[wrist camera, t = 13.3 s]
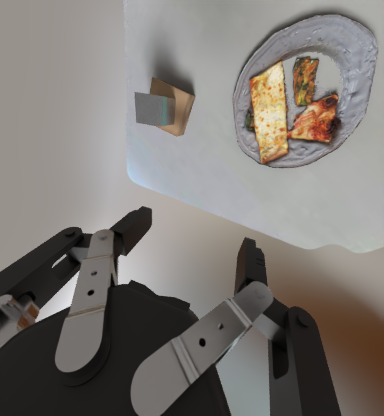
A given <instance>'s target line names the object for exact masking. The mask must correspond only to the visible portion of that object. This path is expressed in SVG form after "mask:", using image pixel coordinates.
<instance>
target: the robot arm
mask: <svg viewBox="0 0 384 416" xmlns="http://www.w3.org/2000/svg"><path fill="white" fill-rule="evenodd" d="M151 225H152V209H150V208H147V207H144V206H142V207H141V208H139V209H138V210H134V211H132V212H130V213H128V214H127V215H126V216H125V217H123V218H122V219H121V220H120V221H118V222H117V223H116V224H115V225H114V226H112V227H111V228H110V229H109V230H108V229H104V230H100V231H97V232H96V233H94V234H86V233H85V234H84V233H82V230H81V228H79V227H70V228H66V229H64V230H62V231H61V232H59V233H58V234H56V235H55V236H53V237H52V238H50V239H49V240H47V241H46V242H44V243H43V244H41V245H40V246H38V247H37V248H35V249H34V250H32V251H31V252H29V253H28V254H26V255H25V256H23V257H22V258H21V259H19V260H17V261H16V262H14V263H13V264H11V265H10V266H8V267H7V268H5V269H4V270H3V271H1V272H0V416H231V413H230V409H229V407H228V403H227V400H226V397H225V394H224V391H223V388H222V385H221V381H220V378H219V375H218V372H217V369H216V365H217V364H218V363H219V362H220V361H221V360H222V359H223V358H224V357H225V356H226V355H227V354H228V352H229V351H230V350H231V349H232V348H233V347H234V346H235V345H236V343H237V342H238V341H239V340H240V339H241V338H242V337H243V336H244V335H245V334H246V333H247V332H248V331H249V330H250V329H251V328H252V327H255V328H256V329H257V330H258V331H259V332H261V333H262V334H263V335H265V336H266V337H267V338H268V357H269V387H270V389H269V390H270V416H341V412H340V409H339V405H338V402H337V397H336V394H335V390H334V386H333V383H332V379H331V375H330V371H329V367H328V364H327V360H326V357H325V353H324V349H323V345H322V341H321V338H320V334H319V330H318V327H317V324H316V322H315V320H314V319H313V318H312V317H311V315H310V314H309V313H307V312H306V311H305V310H303V309H302V308H300V307H296V306H294V307H291V308H288V307H287V306H285V305H284V304H282V303H281V302H279V301H278V300H276V299H275V298H274V297H273V294H272V292H271V290H270V289H269V288H268V285H267V276H266V267H265V258H264V254H263V252H262V250H261V249H259V248H256V242H255V240H253V239H250V238H246V237H245V238H244V240H243V243H242V245H241V248H240V250H239V252H238V257H237V268H236V279H235V291H234V297H233V298H231V299H226V300H225V301H223V302H222V303H221V304H219V305H218V306H217V307H216V308H214V309H213V310H212V311H210V312H209V313H208V314H207V315H205V316H204V317H203V318H201V319H200V320H199V319H198V317H197V316H196V315H195V314H194V313H193V311H191V310H190V309H189V307H190V303H187V302H185V301H182V300H180V299H177V298H175V297H166V296H158V295H156V294H155V293H154V292H153V291H151V290H150V289H149V288H148V287H146V286H145V285H143V284H140V283H138V282H135V281H133V280H131V281H130V282H129V284H121V285H118V257H119V256H120V255H124V256H127V254H128V253H129V252H130V251H131V250H132V249H133V247H134V246H135V245H136V244H137V243H138V242H139V241H140V240H141V238H142V237H143V236H144V235H145V234H146V233H147V231H148V230H149V229H150V227H151ZM64 254H66V255H67V256H66V257H65V258H64V259H63V260H61V261H60V262H59V263H58V264H57V265H55V266H54V267H53V268H52V266H53V264H54V263H55V262H56V261H57V260H58V259H60V258H61V257H62V256H63V255H64ZM79 270H80V272H79V276H78V280H77V284H76V288H75V292H74V296H73V300H72V304H71V306H70V307H68V308H66V309H64V310H62V311H60V312H57V313H55V314H53V315H51V316H49V317H47V318H45V319H43V320H41V321H39V322H37V323H35V319H36V318H37V316H38V314H39V310H40V309H41V308H42V307H43V306H44V305H45V304H46V303H47V302H48V301H49V300H50V299H51V298H52V297H53V296H54V295H55V294H56V293H57V292H58V291H59V290H60V289H61V288H62V287H63V286H64V285H65V284H66V283H67V282H68V281H69V280H70V279H71V278H72V277H73V276H74V275H75V274H76V273H77V272H78V271H79Z"/></svg>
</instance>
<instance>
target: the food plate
mask: <svg viewBox="0 0 384 416" xmlns="http://www.w3.org/2000/svg"><path fill="white" fill-rule="evenodd" d="M316 51H317V53H321V52H322V54H323V55H328V56H329V57H330V58H331V61H332V60H334V62H335V63H336V66H337V67H338V68H339V69H340V72H341V74H340V76H341V79H343V82H344V83H343V85H344V89H343V92H342V94H341V99H340V102H339V103H338V100H339V99H338V96H339V95H340V94H338V95H337V94H336V93H335V94H333V95H332V94H331V93H332V92H331V93H329V92H327V93H326V92H325V91H324V89H323V88H320V87H319V88H318V87H317V85H316V86H315V85H314V80H315V77H316V71H317V69H318V68H317V67H318V64H319V60H311V59H310V57H309V58H308V57H307V58H304V59H302V60H299V58H298V59H297V60H296V63H295V67H294V70H293V75H294V81H293V82H294V86H293V89H294V96H293V97H294V103H295V105H296V107H295V109H294V110H293V113H291V111H290V110H291V107H290V104H292V99H291V100H290V101H291V102H288V103H287V100H288V99H289V97H288V95H286V94H285V92H287V88H286V87H287V86H286V84H285V83H286V82H285V83H284V79H285V77H284V70H283V66H282V61H285V60H287V59H289V58H292V57H294V56H297V55H300V54H303V53H305V52H316ZM377 54H378V47H377V43H376V38H375V37H374V36H373V33H371V31H369V29H367V28H366V27H364V26H363V25H362V24H361V23H359V22H356V21H354V20H351V19H348V18H347V17H344V16H343V17H341V15H337V14H336V15H332V14H331V15H322V16H321V15H320V16H319V15H317V16H316V15H315V17H312V18H309V19H305V20H302V21H300V22H298V23H296V24H294V25H291V26H289V27H287V28H285V29H283V30H280V31H279V32H276V33H274V34H273V35H272V36H271V37H270V38H269V39H267V41H266V42H265V43H264V44H263V45H262V46H261V48H259V49H258V50H257V51H256V52H255V53H254V55H253V56H252V57H251V58H250V59H249V61H248V63H247V64H246V65H245V68H244V69H243V71H242V73H241V75H240V77H239V80H238V81H237V86H236V90H235V93H234V95H233V96H234V97H233V100H234V101H233V105H234V107H233V109H234V118H235V126H236V135H237V140H238V141H237V142H238V144H239V146H240V148H241V149H242V151H243V152H244V153H245V154H247V155H248V156H249V157H251V158H252V159H254V160H255V161H256V162H257V163H259V164H262V165H267V166H269V167H272V168H294V167H299V166H304V165H308V164H310V163H312V162H315V161H317V160H319V159H320V158H322V157H323V156H325V155H327V154H328V153H331V152H333V151H334V150H336V149H337V148H339V147H340V146H341V145H342V144H343V142H344V141H345V140H346V139H347V137H348V136H349V135H350V134H352V133H353V131H354V130H355V128H356V127H357V126H358V124H359V123H360V122H361V120H362V118H363V117H364V116H365V113H366V110H367V106H368V101H369V96H370V92H371V86H372V82H373V76H374V73H375V65H376V63H375V60H376V59H377V57H376V56H377ZM376 61H377V60H376ZM317 83H319V82H317ZM340 83H341V82H340ZM318 90H319V91H318ZM348 90H350V93H349V94H347V91H348ZM313 93H314V94H313ZM320 94H321V95H320ZM346 94H347V95H346ZM327 95H328V96H327ZM285 100H286V101H285ZM289 103H290V104H289ZM286 104H287V105H286ZM297 105H298V106H297ZM297 111H298V113H297ZM294 120H295V123H293V125H294V126H293V127H292V126H291V123H292V122H294Z"/></svg>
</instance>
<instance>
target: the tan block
mask: <svg viewBox="0 0 384 416" xmlns="http://www.w3.org/2000/svg"><path fill="white" fill-rule="evenodd" d="M150 94H151V95H158V96H164V97H168V98H172V99H176V105H175V123H174V125H167V126H156V127H158V128H160V129H162V130H164V131H167V132H169V133H171V134H173V135H175V136H180V135H184V131H185V128H186V125H187V122H188V118H189V115H190V112H191V109H192V106H193V102H194V99H195V96H193V95H191V94H189V93H187V92H185V91H183V90H180V89H178V88H176V87H174V86H172V85H170V84H168V83H165V82H163V81H161V80H158V79H156V78H153V77H152V83H151V89H150Z"/></svg>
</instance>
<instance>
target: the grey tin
mask: <svg viewBox="0 0 384 416" xmlns="http://www.w3.org/2000/svg"><path fill="white" fill-rule="evenodd" d="M175 105H176V99H172V98H168V97H164V96H158V95H151V94H144V93H137V92H135V106H136V122H137V123H142V124H148V125H153V126H167V125H174V123H175Z"/></svg>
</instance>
